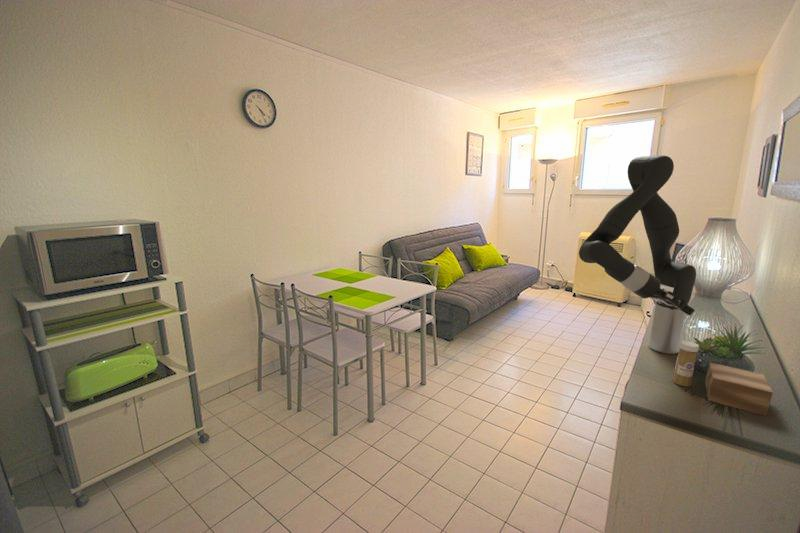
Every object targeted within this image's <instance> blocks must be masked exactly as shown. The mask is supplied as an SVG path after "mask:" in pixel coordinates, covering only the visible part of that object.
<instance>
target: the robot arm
mask: <svg viewBox="0 0 800 533" xmlns="http://www.w3.org/2000/svg"><path fill="white" fill-rule="evenodd" d="M674 167H675V165H674V160H673V159H672V158H671V157H669V156H668V155H663V154H662V155H644V156H643V155H642V156H635V157H634V158H633V159H631V161H629V164H628V166H627V178H628V181H629V184H630V186H631V190H632V191H633V192H632V193H630V194H629V195H627V196H626V197H624V198H623V199H622V200H620V201H619V202H617V203H616V204H615V205H614V206H613V207H611V208H610V209H609V211H607V213H606V214H605V216H604V217H603V218H602V220H601V222H600V223H599V224H598V226H597V228H596V229H595V230H594V231H592V233H590V235H588V237H587V238H586V239H585V240H584V242H583V243H582V244H581V245H580V247H579V251H578V256H579V259H580V260H581V261H582V262H583V263H586V264H597V265H599V266H600V267H602V268H603V269H604V272H605V273H606V274H607V275H608V276H609V277H611V278H612V279H614V280H615V281H617V282H618V283H620V284H621V285H622V286H623V287H625V288H626V289H628V290H629V291H630V292H632V293H634V294H635V295H637V296H638V297H640V298H641V299H649V298H650V299H651V300H653V302H655V307H654V312H653V318H652V324H651V329H650V334H649V340H648V347H649V348H650V349H651V350H653V351H655V352H659V353H663V354H669V355H675V354H678V353H679V345H680V342H681V341H682V336H683V335H682V334H683V329H684V325H685V324H684V323H685V320H686V315H687V316H692V315H693V313H694V312H695V309H694V308H693V307H692V306H690V305H688V304H689V303H690V301H691V298H692V294H693V290H694V287H695V283H696V280H697V270H696V267H695V266H693V265H692V264H687V263H682V262H676V261H673V260H672V258H671V251H670V250H671V249H672V246H674V244H675V242H676V241H677V239H678V237H679V235H680V227H679V222H678V217H677V215H676V213H675V211H674V210H673V209H672V207H671V206H670V205H669V204H668V203H667V202H666V201H665V200H664V199H663V198H662V197H661V196H660V194H659V193H658V192H659V191H660V190H661V189H662V188H663V186H664V185H666V183H668V181H669V180H670V179H671V177H672V176H673V172H674ZM639 211H640V214H641V217H642V221H643V227H644V229H645V230H644V231H645V233H646V234H645V235H646V237H647V240H648V243H649V247H650V253H651V258H652V264H653V272H654V273H653V274H652V273H650V272H648V271H647V270H645V269H644V268H642V267H641V266H638V265H637V264H634V263H633V262H632V261H630V260H628V259H627V258H625V257H623V256H622V255H621V253H620V252H618V250H617V249H615V247H613V246H612V245H611V244H612V243H613V242H614V241H616V240H618V239H619V238H620V237H621V235H622V234H624V231H625V229H627V227H628V226H629V224H630V222H632V220H633V219H634V217H635V216H636V215H637V214H638V213H639ZM661 285H662V286H664V287H669V288H673V290H672V291H670V290H668V289H665V288H661Z"/></svg>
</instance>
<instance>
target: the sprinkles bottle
mask: <svg viewBox="0 0 800 533" xmlns="http://www.w3.org/2000/svg"><path fill="white" fill-rule="evenodd" d="M699 348H700V345H699V344H698V343H696V342H693V341H689V340H681V341H680V345H679V350H678V353H677V354H678V355H677V358H676V361H675V368H674V373H673V374H674V375H673V378H672V382H673V383H675V384H676V385H678V386H682V387H685V388H686V387H691V385H692V384H691V383H692V378H693V374H694V369H695V366H696V365H695V363H696V359H697V358H696V357H697V354H698V352H699Z"/></svg>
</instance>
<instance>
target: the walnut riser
mask: <svg viewBox="0 0 800 533" xmlns="http://www.w3.org/2000/svg"><path fill="white" fill-rule="evenodd" d="M704 384H705V389H706V395H707V396H706V397H707V400H708V402H709V401H710V402H713V403H717V404H721V405H724V406H728V407H732V408H735V409H739V410H743V411H746V412H750V413H754V414H757V415H761V416H765V417H767V416H768V411H769V407H770V404H771V401H772V397H773V394H774V392H773V390H772V388H771V387H770V385H769V382H768V380H767V379H766V377H765V375H764V374H763V373H758V372H755V371H751V370H746V369H742V368H738V367H733V366H729V365H728V366H727V365H723V364H719V363H715V362H709V363H708V367H707V371H706V376H705V381H704Z"/></svg>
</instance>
